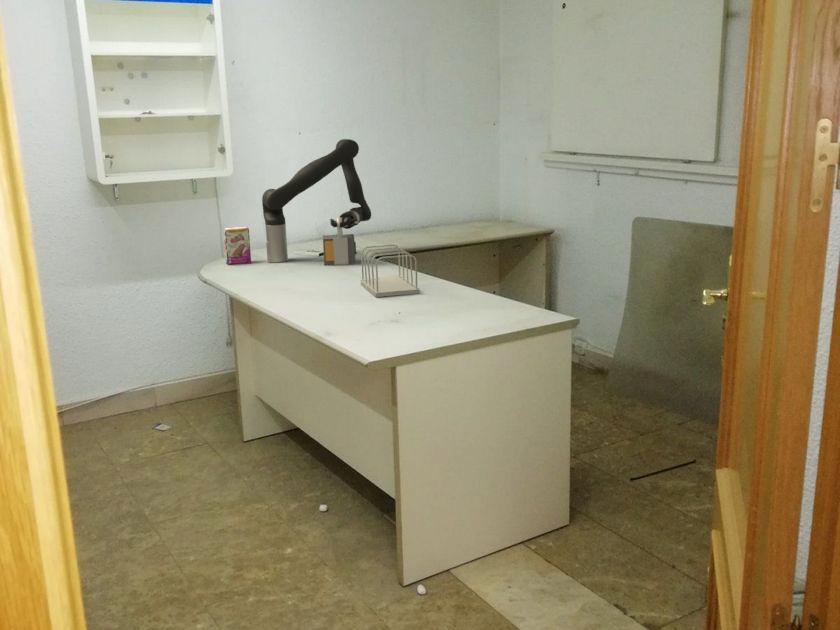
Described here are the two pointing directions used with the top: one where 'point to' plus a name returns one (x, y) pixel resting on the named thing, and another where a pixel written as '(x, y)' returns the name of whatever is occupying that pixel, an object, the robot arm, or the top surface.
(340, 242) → the grey spatula
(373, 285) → the file sorter
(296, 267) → the top surface
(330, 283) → the top surface
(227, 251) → the candy bar box
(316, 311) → the top surface
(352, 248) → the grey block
